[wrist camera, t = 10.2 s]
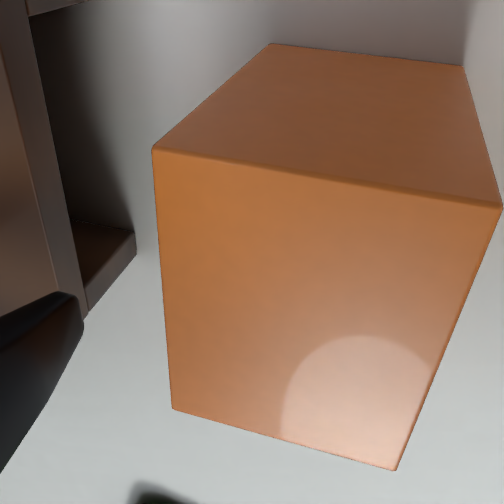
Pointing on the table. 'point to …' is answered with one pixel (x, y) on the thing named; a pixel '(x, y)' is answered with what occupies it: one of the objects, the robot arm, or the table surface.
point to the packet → (321, 245)
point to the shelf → (42, 187)
